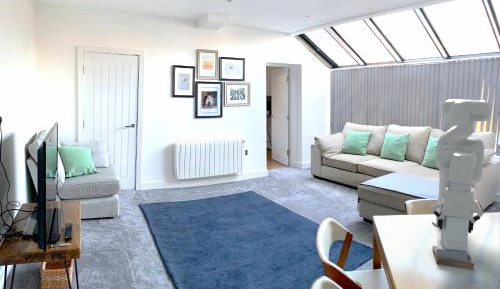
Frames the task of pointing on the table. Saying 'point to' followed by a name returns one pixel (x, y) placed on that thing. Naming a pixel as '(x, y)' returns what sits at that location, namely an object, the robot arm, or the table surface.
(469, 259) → the walnut base slab
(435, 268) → the table surface
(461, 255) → the slate grey slab
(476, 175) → the robot arm
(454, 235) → the supplement box
